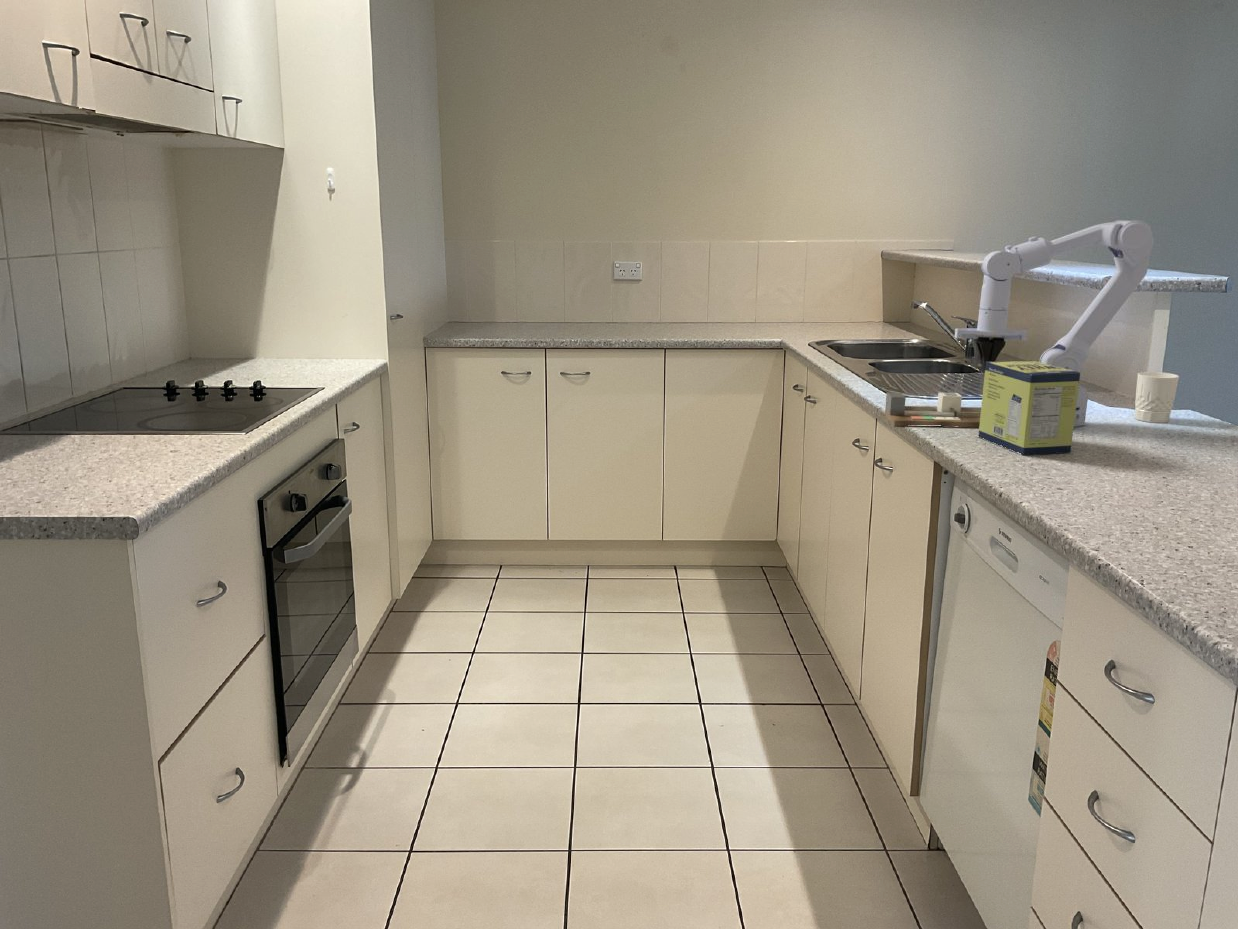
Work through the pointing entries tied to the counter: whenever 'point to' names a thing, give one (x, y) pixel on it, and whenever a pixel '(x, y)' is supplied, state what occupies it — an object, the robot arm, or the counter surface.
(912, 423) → the gauge bed
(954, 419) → the gauge scale
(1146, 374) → the white cup
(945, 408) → the gauge carriage
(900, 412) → the anvil and rails
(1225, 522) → the counter surface
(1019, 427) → the protein box
